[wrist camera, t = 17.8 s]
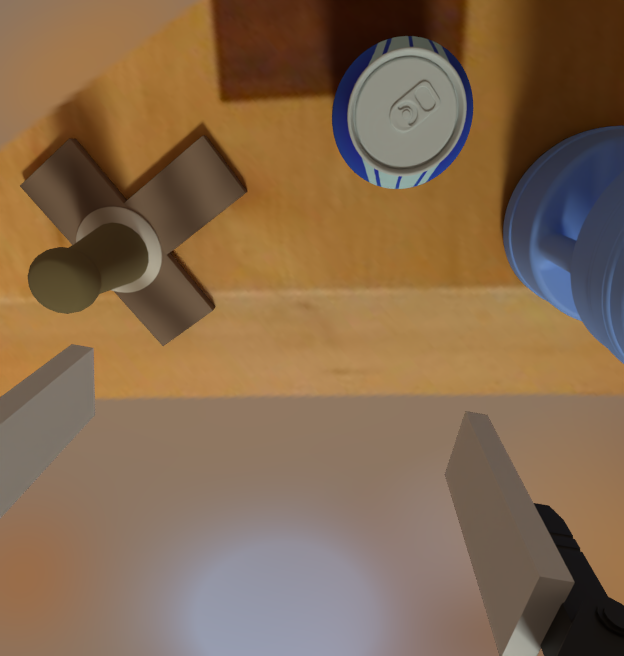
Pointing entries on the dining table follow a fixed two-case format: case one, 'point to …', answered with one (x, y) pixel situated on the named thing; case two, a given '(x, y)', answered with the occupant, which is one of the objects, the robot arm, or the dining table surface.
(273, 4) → the dining table surface
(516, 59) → the dining table surface
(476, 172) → the dining table surface
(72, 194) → the walnut T board
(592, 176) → the water jug
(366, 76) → the beer can
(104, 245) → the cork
